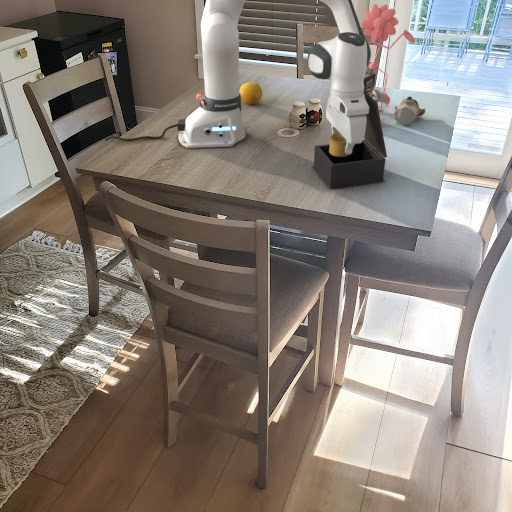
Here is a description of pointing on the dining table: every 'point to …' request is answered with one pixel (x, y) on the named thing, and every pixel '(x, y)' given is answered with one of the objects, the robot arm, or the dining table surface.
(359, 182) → the black lidded box
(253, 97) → the fruit
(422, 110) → the ceramic sculpture
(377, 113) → the lid
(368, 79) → the coffee box
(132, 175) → the dining table surface
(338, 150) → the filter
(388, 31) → the figurine
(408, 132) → the dining table surface
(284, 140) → the dining table surface
